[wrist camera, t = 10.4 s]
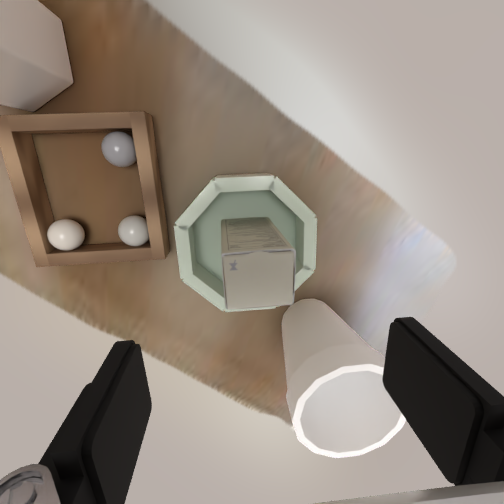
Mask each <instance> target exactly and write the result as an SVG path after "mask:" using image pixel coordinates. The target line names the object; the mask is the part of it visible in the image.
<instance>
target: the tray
mask: <svg viewBox="0 0 504 504" xmlns="http://www.w3.org/2000/svg"><path fill="white" fill-rule="evenodd" d="M101 131H132V132H133V139H134V145H135V151H136V157H137V164H138V170H139V176H140V182H141V189H142V195H143V201H144V208H145V214H146V220H147V226H148V233H149V239H150V241H147V242H146V243H145V244H143V245H141V246H130V245H127V244H125V243H108V244H91V245H80V246H79V247H78V248H76V249H73V250H68V251H65V250H60V249H57V248H55V247H54V246H53V245H52V244H51V243H50V242H49V240H48V237H47V232H48V229H49V227H50V226H51V224H53V223H54V218H53V214H52V211H51V207H50V203H49V199H48V196H47V192H46V188H45V184H44V180H43V177H42V173H41V169H40V165H39V162H38V158H37V154H36V150H35V147H34V143H33V139H32V135H31V134H40V133H71V132H101ZM0 148H1V152H2V155H3V158H4V161H5V165H6V168H7V171H8V175H9V178H10V181H11V185H12V188H13V191H14V195H15V198H16V201H17V204H18V208H19V211H20V214H21V218H22V221H23V224H24V228H25V231H26V234H27V238H28V241H29V244H30V248H31V251H32V254H33V257H34V261H35V264H36V267H44V266H60V265H76V264H92V263H108V262H124V261H140V260H156V259H166V257H167V255H168V254H169V252H170V246H169V238H168V231H167V224H166V216H165V209H164V202H163V195H162V187H161V180H160V173H159V165H158V158H157V151H156V143H155V136H154V129H153V122H152V115H150V114H148V113H146V112H144V111H139V112H103V113H68V114H33V115H0Z"/></svg>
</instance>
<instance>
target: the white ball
mask: <svg viewBox="0 0 504 504" xmlns="http://www.w3.org/2000/svg"><path fill="white" fill-rule="evenodd" d="M118 234H119V237H120V239H121V240H122V241H123V242H124V243H125V244H127V245H130V246H141V245H143V244H145V243H146V242H147V241H148V240H149V233H148V226H147V220H146V219H144V218H143V217H140V216H136V215H132V216H128V217H126V218H124V219H123V220H122V221H121V222H120V224H119V226H118Z"/></svg>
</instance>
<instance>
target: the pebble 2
mask: <svg viewBox="0 0 504 504" xmlns="http://www.w3.org/2000/svg"><path fill="white" fill-rule="evenodd" d="M101 148H102V153H103V155H104V157H105V158H106V160H107V161H108V162H110V163H111V164H113V165H115V166H118V167H128V166H130V165H132V164H133V163H134V162H135V161H136V160H137V157H136V151H135V145H134V139H133V138H132V137H131V136H130V135H129V134H127V133H125V132H121V131H114V132H111V133H109V134H107V135H106V136H105V137H104V139H103V141H102V145H101Z"/></svg>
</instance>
